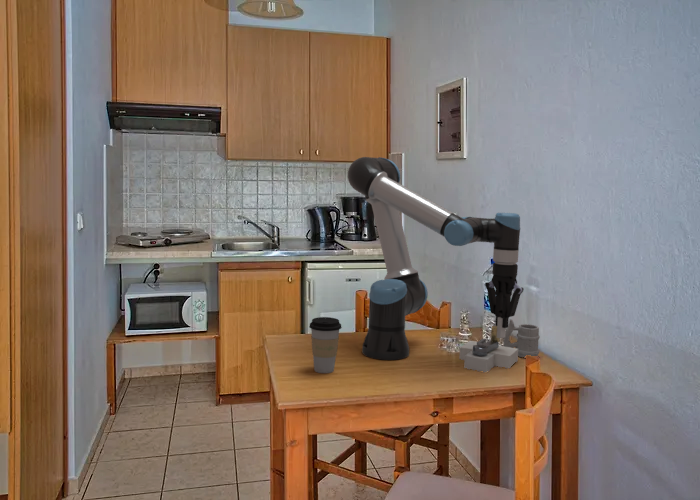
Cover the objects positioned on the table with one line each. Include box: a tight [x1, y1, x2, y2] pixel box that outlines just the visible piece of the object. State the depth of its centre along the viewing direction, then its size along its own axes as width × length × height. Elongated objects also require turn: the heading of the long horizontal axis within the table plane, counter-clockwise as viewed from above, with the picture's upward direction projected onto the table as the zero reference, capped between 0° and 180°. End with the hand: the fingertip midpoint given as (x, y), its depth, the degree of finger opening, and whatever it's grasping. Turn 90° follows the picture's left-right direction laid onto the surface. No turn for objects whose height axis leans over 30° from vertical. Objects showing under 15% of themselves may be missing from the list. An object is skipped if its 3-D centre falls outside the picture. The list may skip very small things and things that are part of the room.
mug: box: [502, 318, 540, 358], centre depth 208 cm, size 8×12×12 cm, turn 87°
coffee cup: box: [309, 316, 343, 374], centre depth 185 cm, size 9×9×15 cm
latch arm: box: [473, 325, 501, 356], centre depth 196 cm, size 14×4×7 cm, turn 141°
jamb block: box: [463, 343, 495, 373], centre depth 193 cm, size 7×7×8 cm
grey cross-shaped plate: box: [458, 338, 519, 369], centre depth 201 cm, size 16×10×6 cm, turn 60°
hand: (501, 337), depth 199 cm, fingers closed
